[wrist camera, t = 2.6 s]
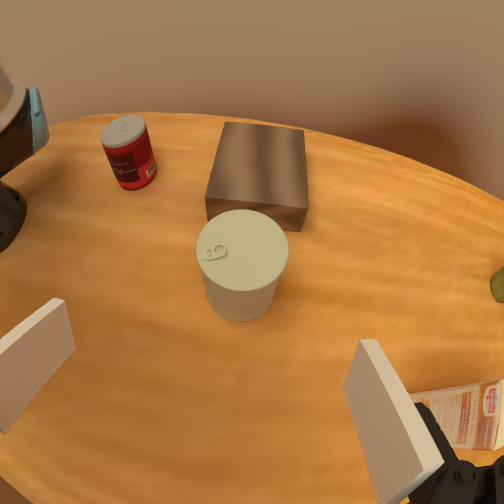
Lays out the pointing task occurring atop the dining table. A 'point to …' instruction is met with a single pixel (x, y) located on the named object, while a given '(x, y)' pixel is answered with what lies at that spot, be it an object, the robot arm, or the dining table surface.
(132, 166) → the canned food
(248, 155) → the walnut riser
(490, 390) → the coffeecake box
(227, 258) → the can
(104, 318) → the dining table surface
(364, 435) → the robot arm
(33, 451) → the dining table surface
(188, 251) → the dining table surface
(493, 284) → the plant pot
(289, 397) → the dining table surface
